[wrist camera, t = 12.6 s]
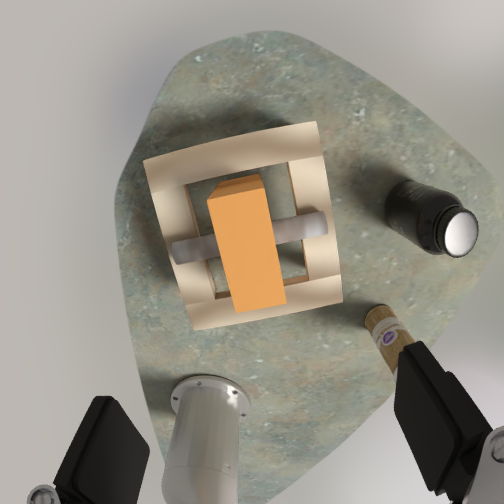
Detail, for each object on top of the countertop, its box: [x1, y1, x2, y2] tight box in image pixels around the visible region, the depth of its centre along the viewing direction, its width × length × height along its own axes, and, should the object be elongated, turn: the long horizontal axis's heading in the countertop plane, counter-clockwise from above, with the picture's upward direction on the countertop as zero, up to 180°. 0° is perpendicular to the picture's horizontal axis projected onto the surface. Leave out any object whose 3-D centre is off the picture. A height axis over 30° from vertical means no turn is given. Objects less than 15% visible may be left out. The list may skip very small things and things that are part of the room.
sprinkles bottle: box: [365, 305, 415, 382], centre depth 34 cm, size 5×5×14 cm
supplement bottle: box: [385, 181, 479, 258], centre depth 30 cm, size 7×7×12 cm
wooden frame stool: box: [143, 121, 343, 331], centre depth 30 cm, size 17×15×11 cm
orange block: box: [207, 174, 287, 313], centre depth 27 cm, size 9×4×10 cm, turn 12°
